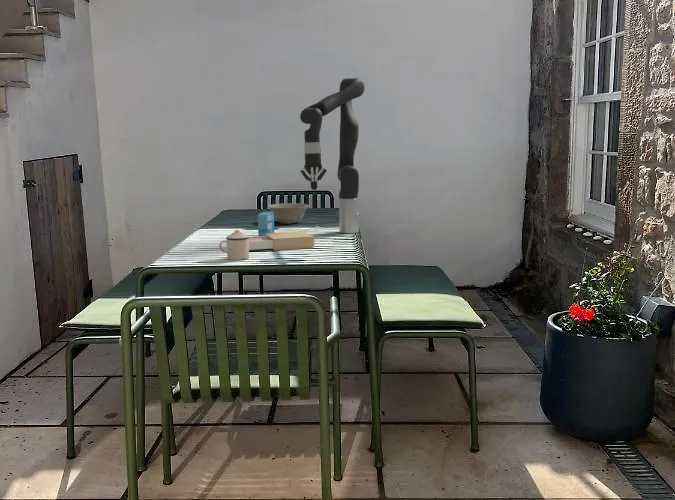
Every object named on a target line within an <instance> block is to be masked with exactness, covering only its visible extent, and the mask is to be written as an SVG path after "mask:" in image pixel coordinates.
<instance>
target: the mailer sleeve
mask: <svg viewBox="0 0 675 500" xmlns="http://www.w3.org/2000/svg"><path fill="white" fill-rule="evenodd" d="M265 236H268V237H270V238H271V239H273V248H272V249H271V250H273V251H283V250H286V251H287V250H298V249H300V250H301V249H312V248H315V246H314V238H315V236H314V235H313V234H311V233H308V232H307V231H303V230H302V231H288V232H274V233H268V234H265Z"/></svg>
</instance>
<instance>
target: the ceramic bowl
mask: <svg viewBox="0 0 675 500" xmlns="http://www.w3.org/2000/svg"><path fill="white" fill-rule="evenodd" d="M267 207H268V209H269V212H273V213H274V220H276V221H277V222H279V223H280V224H283V225H292V223H293V224H296V223H299V222H301V221H302V220H303V216H304V215H305V213H306V211H307V209H309V207H310V205H309V204H307V203H296V202H295V203H291V202H290V203H287V202H286V203H285V202H284V203H273V204H269V205H268V206H267Z"/></svg>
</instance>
